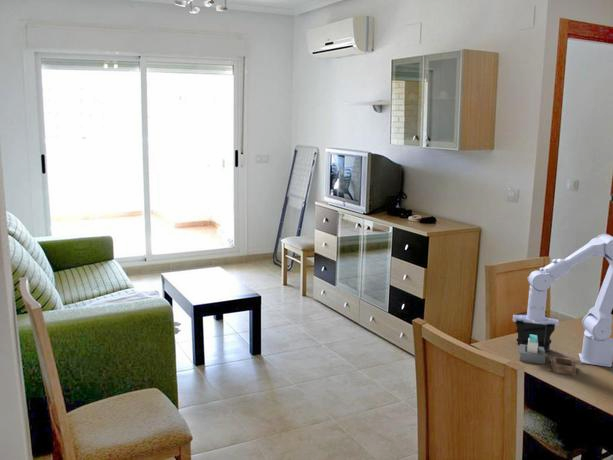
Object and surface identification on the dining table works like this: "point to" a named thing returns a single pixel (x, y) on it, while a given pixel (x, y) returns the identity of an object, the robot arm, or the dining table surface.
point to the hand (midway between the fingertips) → (533, 343)
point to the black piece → (534, 333)
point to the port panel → (532, 355)
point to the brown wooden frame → (563, 365)
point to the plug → (532, 344)
